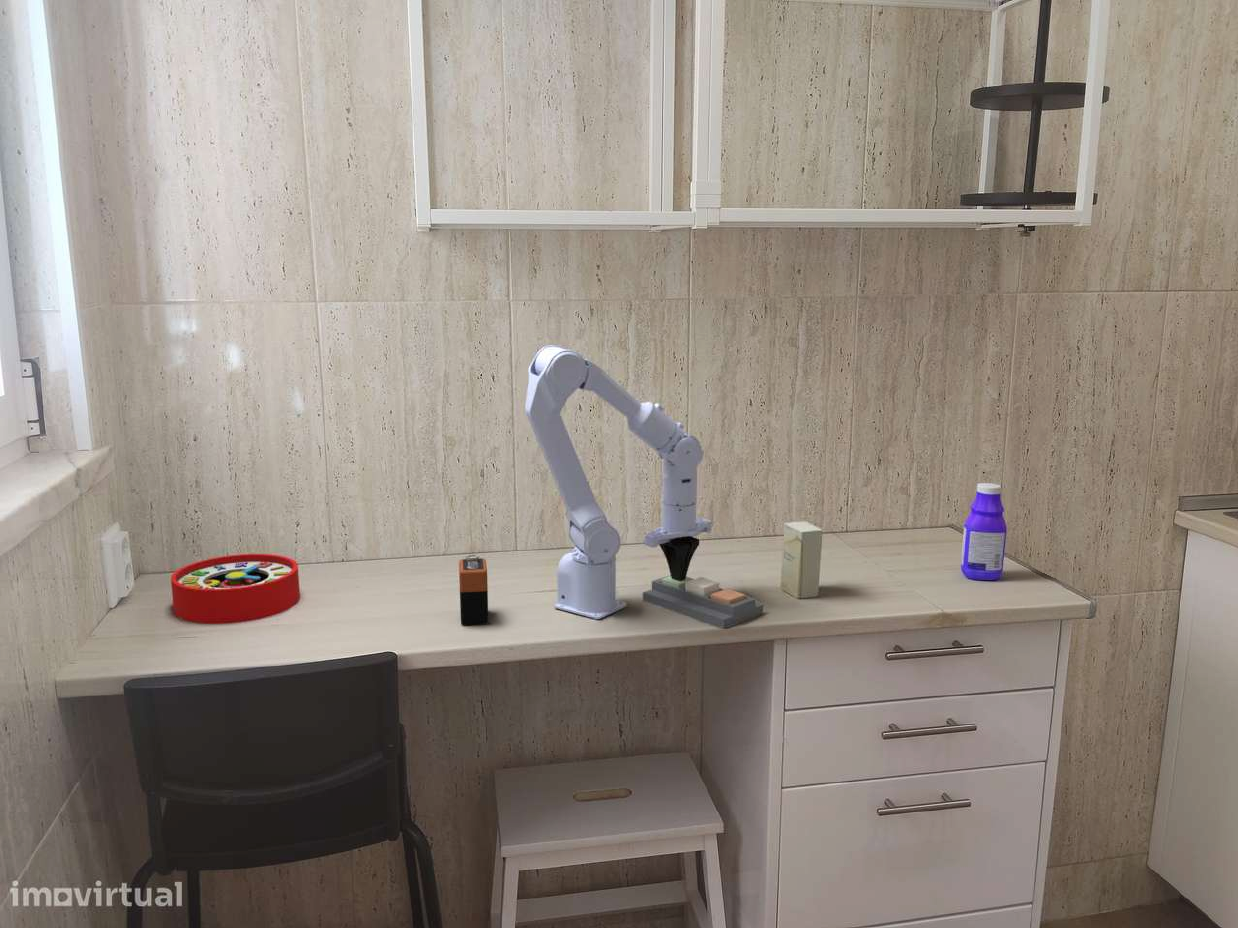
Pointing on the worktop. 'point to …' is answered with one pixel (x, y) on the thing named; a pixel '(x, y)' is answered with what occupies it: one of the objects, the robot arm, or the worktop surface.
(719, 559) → the worktop surface
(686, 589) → the cream button
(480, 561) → the battery
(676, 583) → the green button
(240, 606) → the toy clock
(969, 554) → the bottle
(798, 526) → the skincare box
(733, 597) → the terracotta button
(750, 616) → the button panel
